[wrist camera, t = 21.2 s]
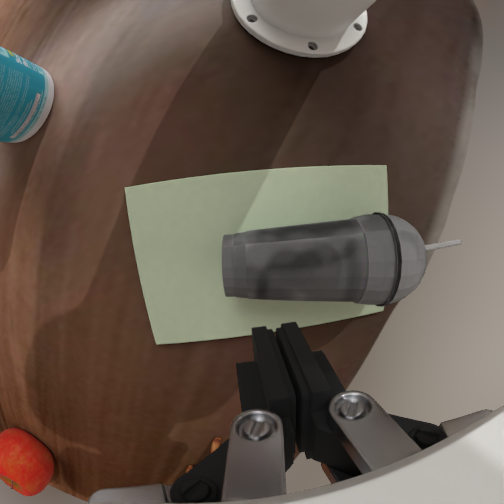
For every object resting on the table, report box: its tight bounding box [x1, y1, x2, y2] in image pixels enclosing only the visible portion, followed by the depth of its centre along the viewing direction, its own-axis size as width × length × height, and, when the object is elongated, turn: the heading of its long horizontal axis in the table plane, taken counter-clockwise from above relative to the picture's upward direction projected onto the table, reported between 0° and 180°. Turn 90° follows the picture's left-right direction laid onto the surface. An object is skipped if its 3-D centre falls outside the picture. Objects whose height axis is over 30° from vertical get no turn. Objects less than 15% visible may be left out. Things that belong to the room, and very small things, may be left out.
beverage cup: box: [222, 212, 462, 307], centre depth 21 cm, size 7×7×20 cm
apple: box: [0, 427, 54, 496], centre depth 23 cm, size 11×11×11 cm
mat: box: [125, 165, 388, 344], centre depth 24 cm, size 14×22×1 cm, turn 95°
